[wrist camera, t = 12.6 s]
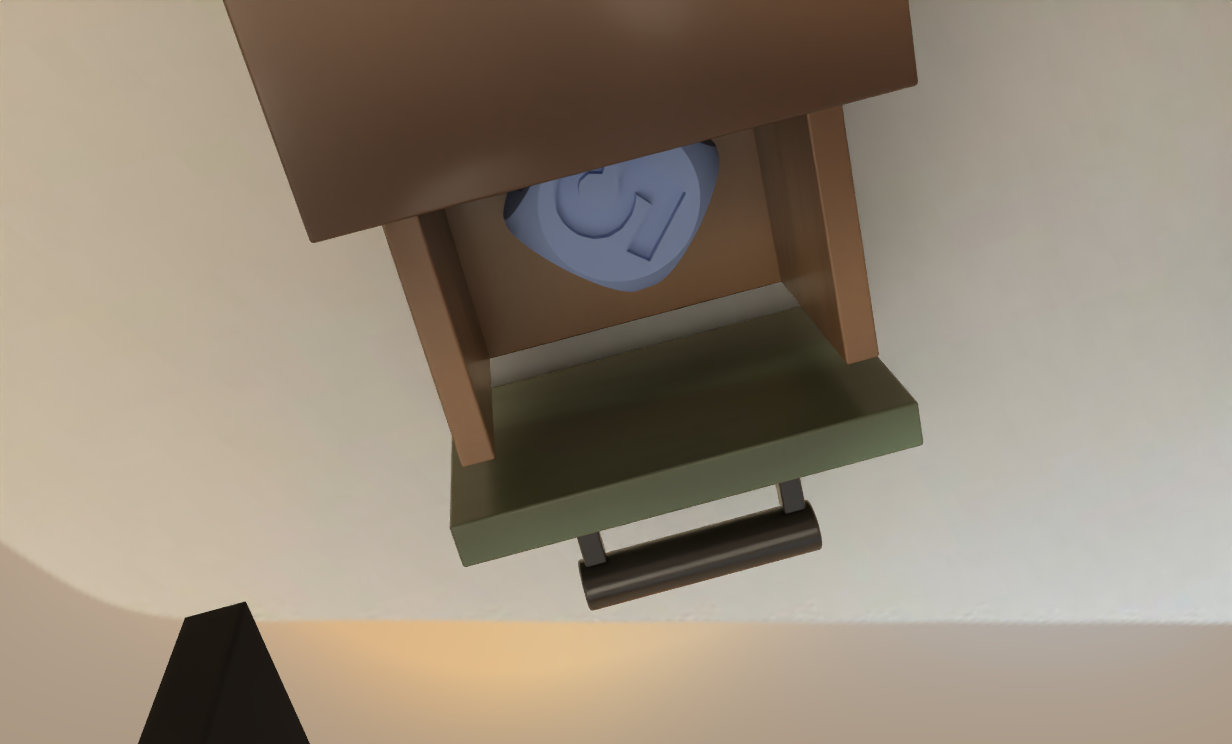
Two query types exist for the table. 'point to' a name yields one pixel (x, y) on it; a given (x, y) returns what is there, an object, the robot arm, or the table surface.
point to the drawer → (661, 373)
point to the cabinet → (536, 88)
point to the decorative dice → (619, 216)
